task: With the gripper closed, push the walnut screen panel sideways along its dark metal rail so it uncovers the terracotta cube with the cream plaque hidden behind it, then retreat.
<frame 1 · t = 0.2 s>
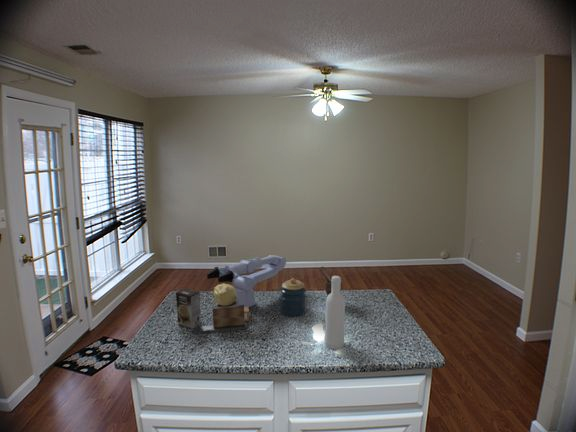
hand: (213, 278, 158), 21 cm above the countertop, tool horizontal, fingers open, 7 cm apart
panel: (228, 316, 154), point 6 cm above the countertop, slide at 0.0 cm
cube: (243, 318, 164), on the countertop
bottle: (334, 344, 142), on the countertop
rail: (229, 328, 155), on the countertop
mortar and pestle: (330, 304, 180), on the countertop
sculpture: (225, 303, 180), on the countertop
coffee box: (189, 323, 159), on the countertop
canister: (293, 311, 171), on the countertop
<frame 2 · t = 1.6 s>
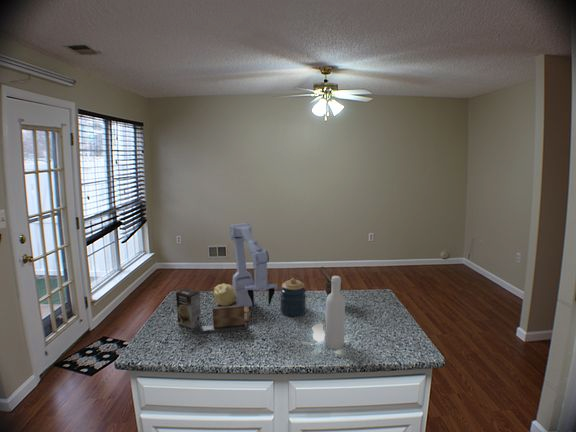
hand: (261, 304, 155), 10 cm above the countertop, tool pointing down, fingers open, 7 cm apart
nothing on the countertop moved.
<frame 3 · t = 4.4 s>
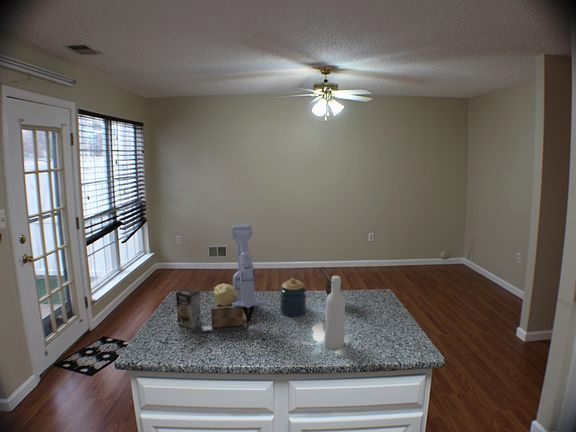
hand: (248, 320, 156), 3 cm above the countertop, tool pointing down, fingers closed
panel: (227, 316, 154), point 6 cm above the countertop, slide at 0.7 cm, touching gripper
everything else where it was.
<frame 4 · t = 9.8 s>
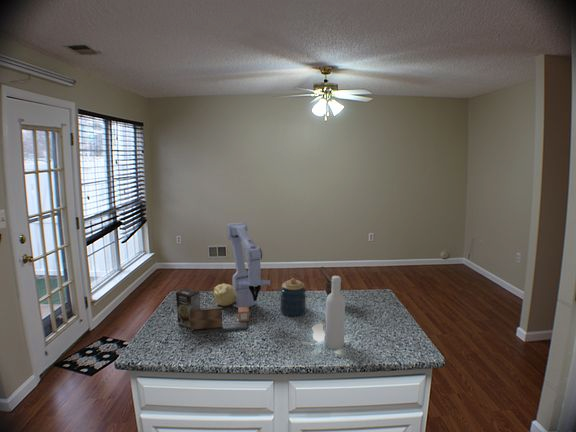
hand: (255, 300, 160), 10 cm above the countertop, tool pointing down, fingers closed
panel: (206, 318, 152), point 6 cm above the countertop, slide at 10.0 cm
everything else where it was.
at the end: panel slide at 10.0 cm; cube moved 0.1 cm from its start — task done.
